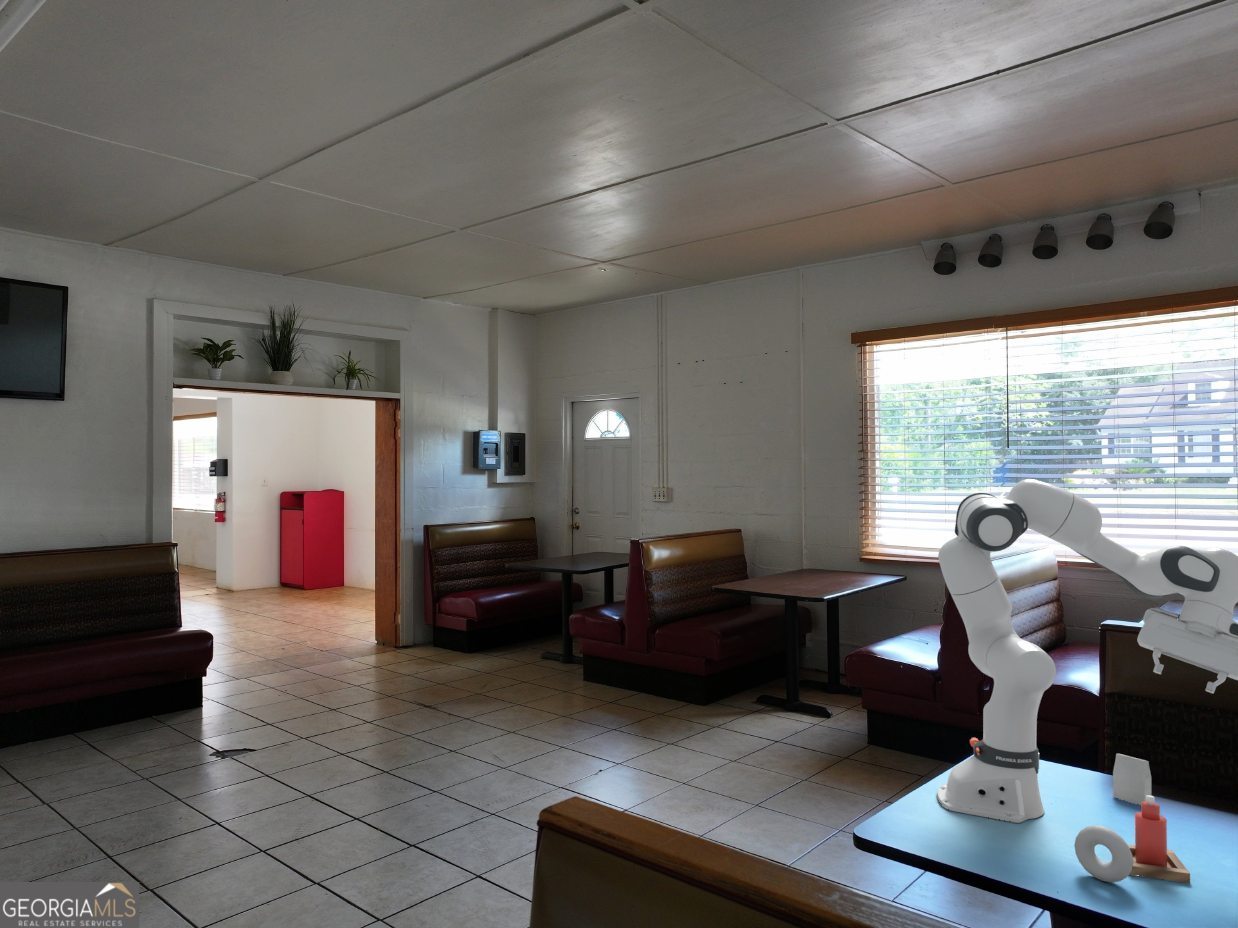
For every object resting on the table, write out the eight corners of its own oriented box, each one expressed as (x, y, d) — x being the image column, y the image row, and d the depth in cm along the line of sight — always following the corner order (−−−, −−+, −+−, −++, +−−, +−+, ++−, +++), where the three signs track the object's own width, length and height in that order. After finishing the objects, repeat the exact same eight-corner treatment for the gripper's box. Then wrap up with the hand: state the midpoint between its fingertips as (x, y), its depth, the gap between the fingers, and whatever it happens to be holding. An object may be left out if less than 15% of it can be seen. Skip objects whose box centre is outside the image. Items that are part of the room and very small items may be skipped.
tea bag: (1144, 807, 190) (1144, 763, 190) (1112, 797, 196) (1113, 755, 196) (1151, 803, 193) (1151, 760, 193) (1119, 793, 198) (1119, 751, 198)
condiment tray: (1129, 875, 158) (1129, 865, 158) (1114, 852, 168) (1114, 843, 168) (1190, 883, 155) (1190, 873, 155) (1172, 859, 165) (1172, 850, 165)
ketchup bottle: (1143, 869, 159) (1143, 801, 160) (1130, 857, 165) (1129, 791, 165) (1172, 870, 159) (1171, 802, 159) (1158, 858, 164) (1157, 792, 164)
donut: (1136, 887, 154) (1136, 833, 154) (1129, 893, 151) (1129, 838, 151) (1078, 867, 161) (1079, 815, 161) (1071, 872, 159) (1071, 820, 159)
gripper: (1148, 599, 180) (1127, 657, 177) (1264, 636, 168) (1243, 699, 165) (1147, 608, 185) (1126, 665, 182) (1258, 645, 173) (1238, 706, 170)
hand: (1182, 682), depth 173 cm, fingers open, 8 cm apart
